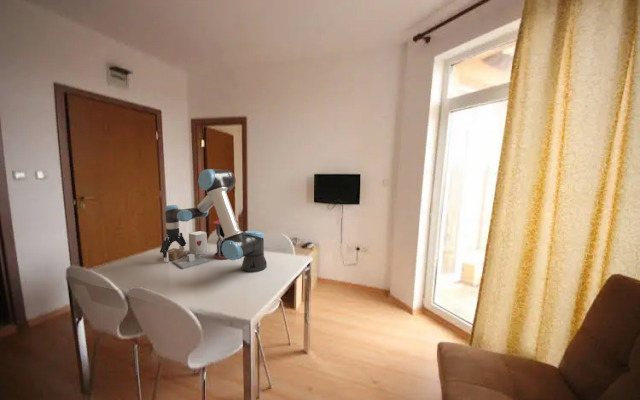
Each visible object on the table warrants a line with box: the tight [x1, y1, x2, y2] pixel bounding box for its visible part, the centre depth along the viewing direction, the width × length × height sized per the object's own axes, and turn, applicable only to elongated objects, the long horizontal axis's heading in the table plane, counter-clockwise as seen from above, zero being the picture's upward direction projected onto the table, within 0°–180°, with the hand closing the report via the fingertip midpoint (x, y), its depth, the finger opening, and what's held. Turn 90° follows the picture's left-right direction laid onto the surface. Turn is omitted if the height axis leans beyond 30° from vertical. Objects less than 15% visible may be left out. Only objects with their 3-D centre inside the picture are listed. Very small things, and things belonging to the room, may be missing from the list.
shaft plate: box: [172, 253, 210, 270], centre depth 159 cm, size 16×16×5 cm
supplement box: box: [188, 230, 208, 256], centre depth 178 cm, size 9×9×15 cm
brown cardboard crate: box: [167, 248, 184, 262], centre depth 165 cm, size 7×7×6 cm
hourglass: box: [212, 219, 238, 260], centre depth 171 cm, size 16×16×25 cm
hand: (174, 258), depth 165 cm, fingers open, 13 cm apart
